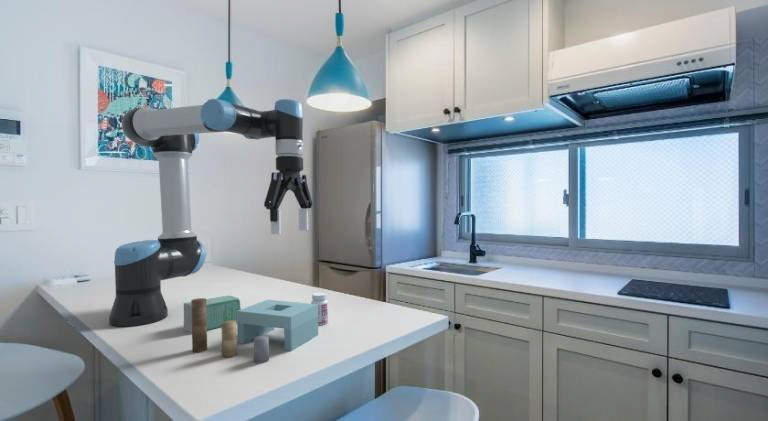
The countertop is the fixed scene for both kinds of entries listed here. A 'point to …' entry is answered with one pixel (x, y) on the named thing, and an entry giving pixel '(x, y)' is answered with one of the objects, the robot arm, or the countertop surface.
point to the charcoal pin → (261, 349)
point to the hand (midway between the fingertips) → (290, 232)
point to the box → (214, 312)
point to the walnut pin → (199, 325)
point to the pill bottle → (321, 307)
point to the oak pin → (229, 339)
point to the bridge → (279, 321)
